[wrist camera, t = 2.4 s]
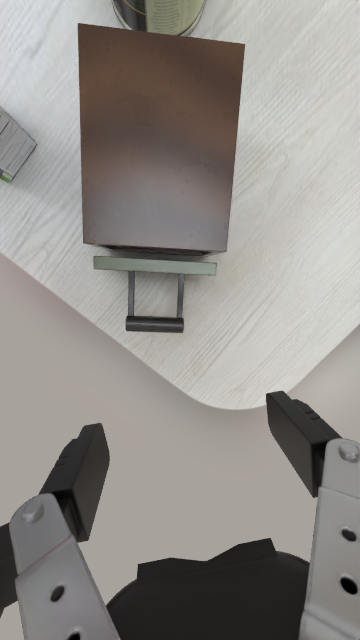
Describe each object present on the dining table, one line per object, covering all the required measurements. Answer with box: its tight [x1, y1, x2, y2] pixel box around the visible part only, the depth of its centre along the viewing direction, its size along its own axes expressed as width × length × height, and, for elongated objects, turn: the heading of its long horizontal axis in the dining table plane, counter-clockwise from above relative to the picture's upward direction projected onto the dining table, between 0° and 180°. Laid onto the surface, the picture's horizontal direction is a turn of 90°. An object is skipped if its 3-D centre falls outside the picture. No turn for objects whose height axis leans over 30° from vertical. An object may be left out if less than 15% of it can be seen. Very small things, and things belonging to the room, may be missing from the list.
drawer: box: [94, 246, 217, 333], centre depth 27 cm, size 22×12×8 cm, turn 177°
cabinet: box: [78, 23, 245, 256], centre depth 25 cm, size 16×13×10 cm
